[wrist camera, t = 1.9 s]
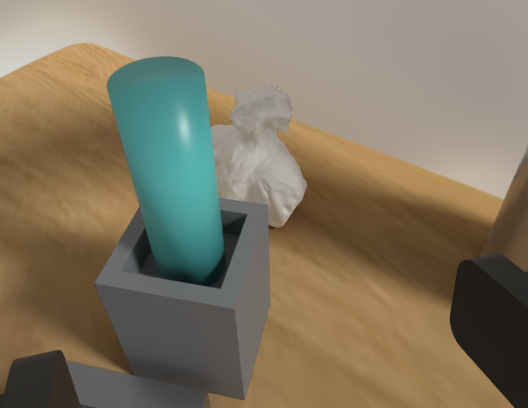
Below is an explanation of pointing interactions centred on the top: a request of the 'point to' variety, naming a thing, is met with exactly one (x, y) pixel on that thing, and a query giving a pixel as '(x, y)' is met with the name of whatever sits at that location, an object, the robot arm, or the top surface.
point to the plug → (172, 164)
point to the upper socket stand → (192, 307)
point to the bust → (258, 154)
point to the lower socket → (130, 390)
